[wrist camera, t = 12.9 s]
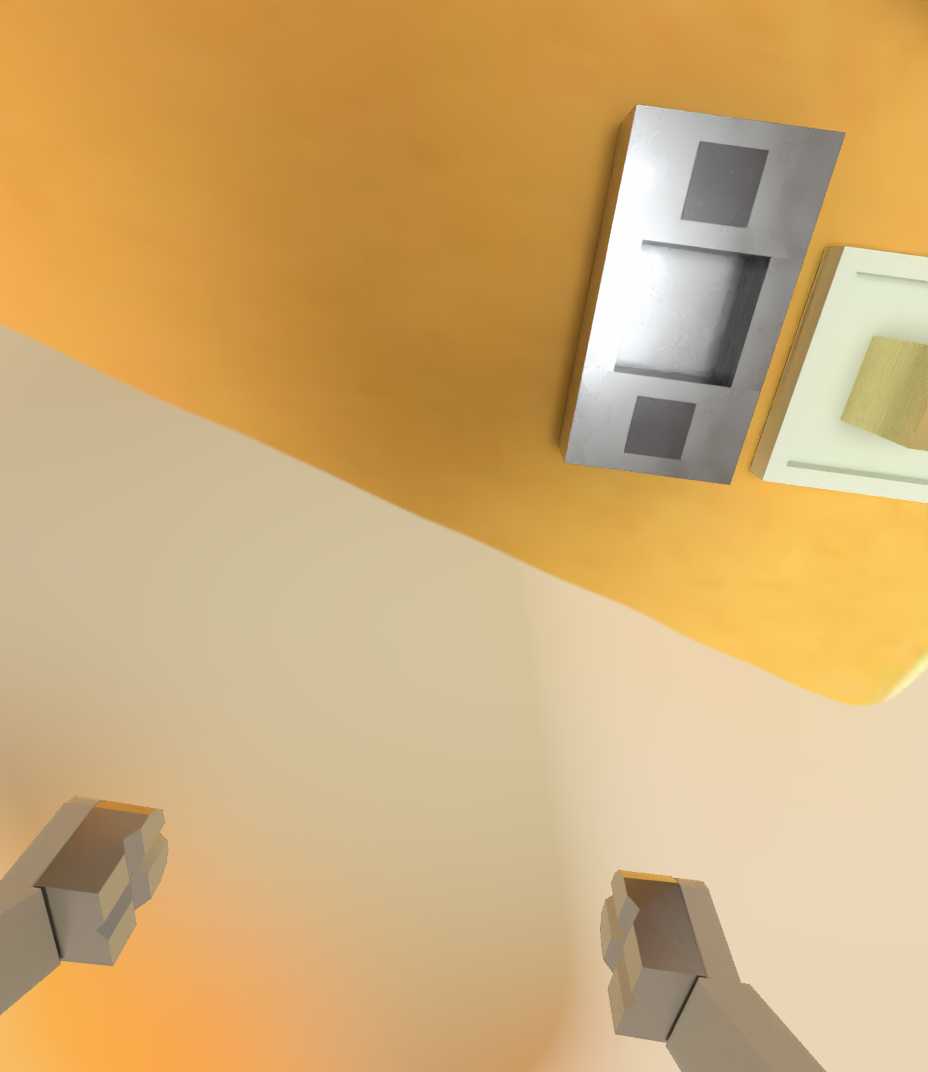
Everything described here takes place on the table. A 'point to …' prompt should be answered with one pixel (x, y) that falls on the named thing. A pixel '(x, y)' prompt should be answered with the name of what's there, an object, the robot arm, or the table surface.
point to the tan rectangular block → (892, 392)
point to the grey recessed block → (690, 288)
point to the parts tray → (845, 378)
